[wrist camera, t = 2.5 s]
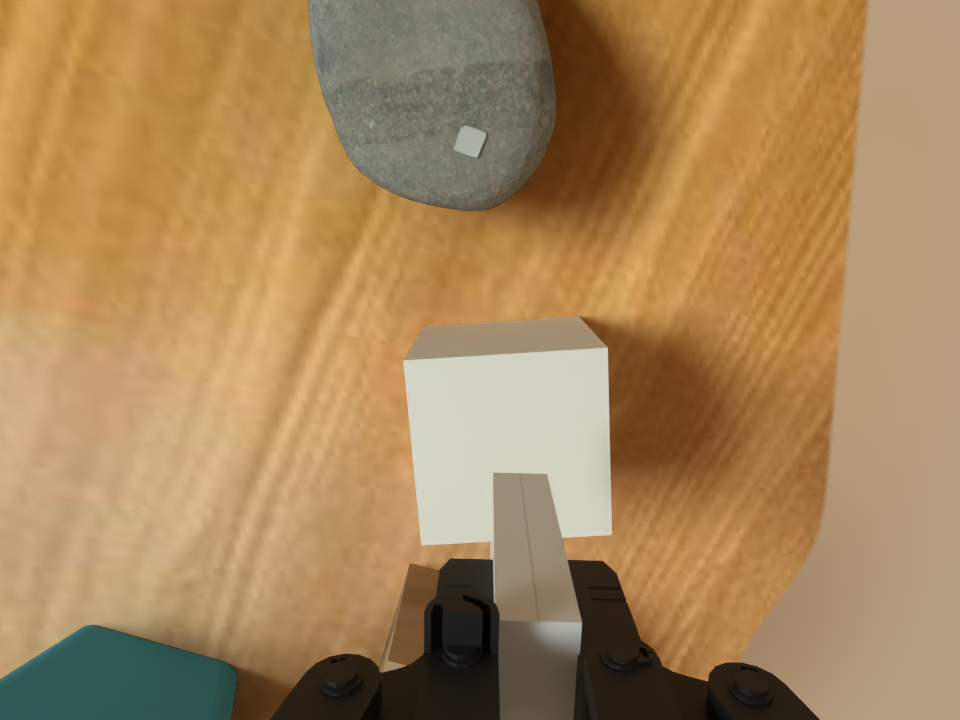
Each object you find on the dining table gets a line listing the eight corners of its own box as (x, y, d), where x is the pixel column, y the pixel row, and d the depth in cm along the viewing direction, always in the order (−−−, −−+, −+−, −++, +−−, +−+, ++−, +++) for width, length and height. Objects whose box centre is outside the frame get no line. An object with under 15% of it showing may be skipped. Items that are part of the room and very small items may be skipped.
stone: (575, -79, 24) (592, -41, 17) (538, 144, 30) (538, 248, 23) (348, -109, 24) (260, -85, 17) (354, 120, 30) (291, 216, 23)
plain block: (423, 326, 28) (403, 360, 21) (578, 316, 28) (607, 347, 21) (436, 470, 30) (421, 545, 23) (583, 462, 30) (612, 535, 23)
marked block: (409, 562, 31) (386, 666, 24) (544, 598, 31) (561, 711, 24) (375, 679, 32) (343, 809, 25) (504, 712, 33) (509, 850, 26)
